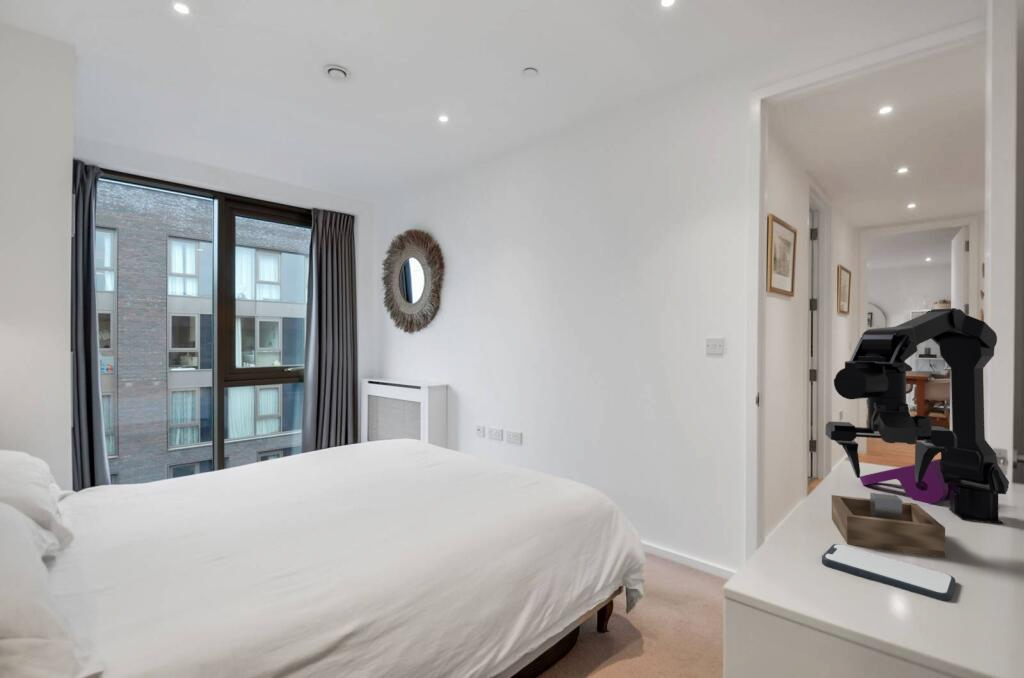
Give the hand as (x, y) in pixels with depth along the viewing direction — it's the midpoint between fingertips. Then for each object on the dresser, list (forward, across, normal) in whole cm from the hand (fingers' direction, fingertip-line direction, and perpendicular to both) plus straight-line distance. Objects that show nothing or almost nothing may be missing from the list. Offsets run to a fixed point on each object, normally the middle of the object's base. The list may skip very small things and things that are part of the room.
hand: (887, 479), depth 90 cm
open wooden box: (+11, -1, 0) cm, 11 cm away
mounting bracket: (+12, +12, +34) cm, 38 cm away
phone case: (+11, -5, -17) cm, 21 cm away
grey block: (+10, -1, 0) cm, 10 cm away
